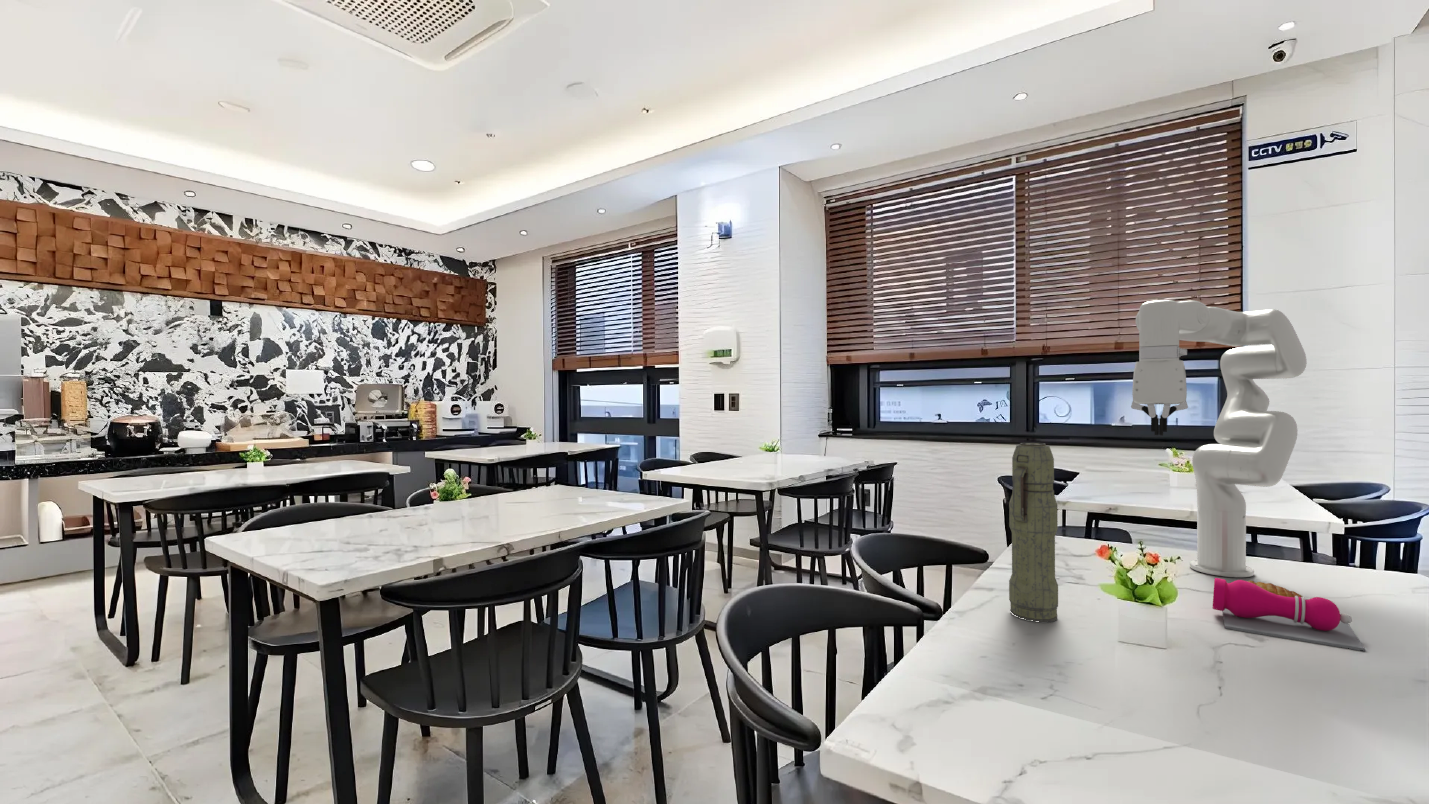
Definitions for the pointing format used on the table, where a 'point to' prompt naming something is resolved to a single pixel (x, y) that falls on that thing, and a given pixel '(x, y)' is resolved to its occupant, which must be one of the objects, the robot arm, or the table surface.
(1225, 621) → the mat
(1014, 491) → the thermos
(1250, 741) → the table surface
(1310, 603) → the pepper mill
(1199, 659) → the table surface
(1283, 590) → the pastry
